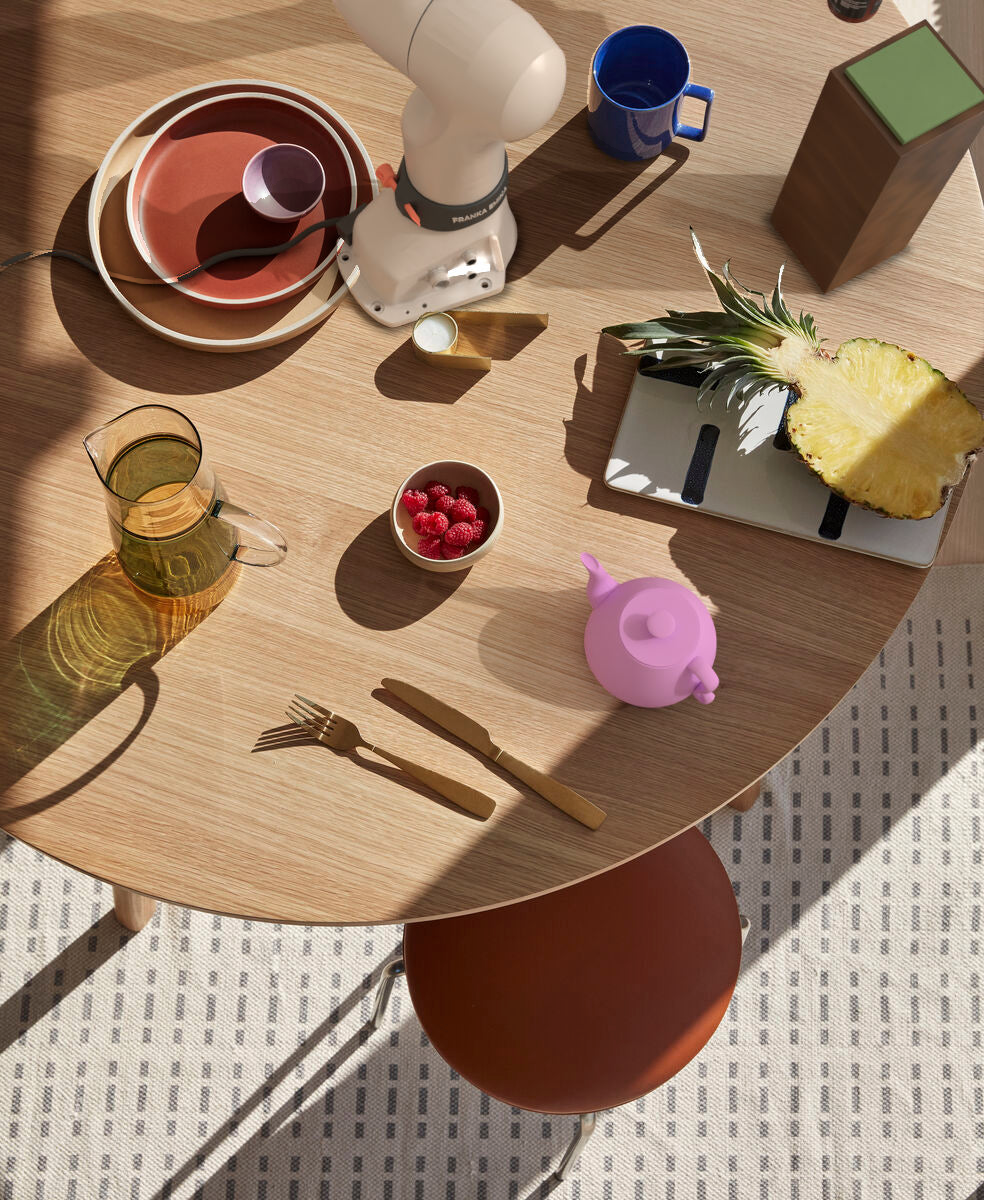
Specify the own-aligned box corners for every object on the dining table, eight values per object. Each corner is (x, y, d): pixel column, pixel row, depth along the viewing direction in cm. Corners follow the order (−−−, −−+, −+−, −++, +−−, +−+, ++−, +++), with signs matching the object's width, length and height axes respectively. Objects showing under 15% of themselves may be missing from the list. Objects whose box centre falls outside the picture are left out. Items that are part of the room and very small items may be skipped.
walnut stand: (824, 294, 134) (900, 157, 109) (768, 219, 137) (829, 69, 112) (904, 249, 136) (997, 103, 110) (847, 176, 138) (925, 18, 113)
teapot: (531, 626, 124) (534, 598, 112) (617, 541, 126) (630, 504, 114) (662, 752, 120) (680, 736, 108) (748, 661, 123) (776, 637, 111)
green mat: (902, 145, 109) (904, 141, 109) (843, 72, 112) (845, 68, 111) (983, 100, 111) (986, 96, 110) (923, 29, 113) (925, 25, 112)
